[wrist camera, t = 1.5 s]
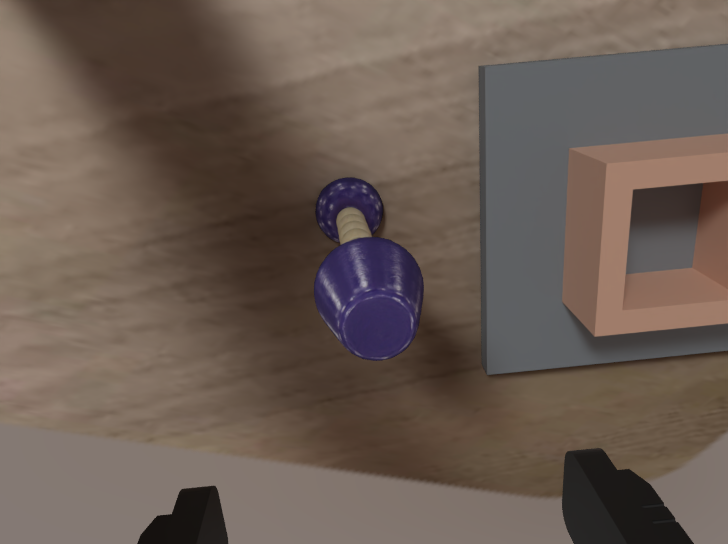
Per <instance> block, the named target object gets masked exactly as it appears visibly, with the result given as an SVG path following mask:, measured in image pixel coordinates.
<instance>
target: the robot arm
mask: <svg viewBox="0 0 728 544" xmlns="http://www.w3.org/2000/svg"><path fill="white" fill-rule="evenodd" d="M562 510H563V516H564V521H565V524H566V527H567V530H568V532H569V535H570V537H571V539H572V541H573V543H574V544H694V543H693V542H692V541H691V539H690V538H689V536H688V535H687V534H686V532H685V531H684V530H683V528H682V527H681V526H680V524H679V523H678V522H676V521H675V517H674V516H673V515H672V513H671V512H670V511H669V509H668V508H667V507H665V506H664V503H663V501H662V500H661V498H660V497H659V496H658V494H657V493H656V492H655V490H654V489H653V488H652V486H651V485H650V484H649V483H648V482H646V481H645V480H643V479H642V478H641V477H639V476H638V475H637V474H635V473H634V472H632V471H631V470H630V469H625V470H617V469H616V468H615V466H614V465H613V463H612V462H611V460H610V459H609V457H608V456H607V454H606V453H605V452H604V451H603V450H602V449H601V448H596V449H586V450H576V451H568V452H567V453H566V455H565V464H564V480H563V496H562ZM137 544H228V537H227V532H226V527H225V522H224V518H223V513H222V508H221V503H220V499H219V494H218V490H217V488H216V486H208V487H197V488H187V489H182V490H181V491H180V492H179V495H178V498H177V500H176V504H175V506H174V510H173V512H172V514H170V515H160V516H157V517H156V518H155V519H154V520H153V521H152V523H151V524H150V525H149V526H148V527H147V528H146V530H145V531H144V532H143V533H142V534H141V536H140V538H139V541H138V543H137Z"/></svg>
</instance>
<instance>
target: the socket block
mask: <svg viewBox="0 0 728 544" xmlns="http://www.w3.org/2000/svg"><path fill="white" fill-rule="evenodd" d="M479 143H480V243H481V343H482V366H483V368H484V370H485V372H486V374H487V375H492V374H502V373H512V372H522V371H532V370H541V369H551V368H561V367H571V366H581V365H591V364H600V363H610V362H620V361H630V360H640V359H650V358H660V357H669V356H679V355H689V354H699V353H709V352H719V351H728V44H720V45H709V46H697V47H686V48H675V49H664V50H653V51H642V52H631V53H619V54H608V55H597V56H586V57H575V58H564V59H553V60H541V61H530V62H519V63H508V64H497V65H486V66H479Z"/></svg>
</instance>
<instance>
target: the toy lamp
mask: <svg viewBox="0 0 728 544" xmlns="http://www.w3.org/2000/svg"><path fill="white" fill-rule="evenodd" d="M382 215H383V205H382V201H381V198H380V196H379V194H378V192H377V191H376V189H374V188H373V186H372V185H370V184H369V183H367V182H365V181H363V180H361V179H357V178H342V179H338V180H335V181H333V182H331V183H330V184H328V185H327V186H326V187H325V188H324V189H323V190H322V191H321V193H320V195H319V197H318V200H317V203H316V219H317V222H318V224H319V226H320V228H321V230H322V231H323V232H324V233H325V234H326V235H327V236H328V237H329V238H330V239H332V240H334V241H336V242H339V243H340V244H341V245H340V246H338V247H337V248H335V249H334V250H333V251H332V252H330V254H329V255H328V256H327V257H326V258H325V260H324V261H323V262H322V264H321V266H320V268H319V270H318V272H317V275H316V278H315V282H314V297H315V302H316V306H317V309H318V312H319V313H320V315H321V317H322V319H323V320H324V322H325V323H326V324H327V326H328V327H329V328H330V330H331V331H332V332H333V334H334V335H335V336H336V337H337V339H338V340H339V341H340V342H341V343H342V345H343V346H344V347H345V348H346V349H347V350H348V351H349V352H351V353H352V354H354V355H356V356H358V357H360V358H362V359H367V360H373V361H378V360H386V359H390V358H393V357H395V356H397V355H398V354H400V353H402V352H403V351H404V350H405V349H406V348H407V347H408V346H409V345H410V343H411V342H412V341H413V339H414V337H415V335H416V332H417V329H418V326H419V320H420V315H421V308H422V302H423V292H424V285H423V277H422V274H421V270H420V268H419V266H418V264H417V262H416V261H415V259H414V258H413V257H412V255H411V254H410V253H409V252H408V251H407V250H406V249H405V248H403V247H402V246H400V245H399V244H397V243H395V242H392V241H391V240H388V239H384V238H379V237H372V235H373V234H374V233H375V231H376V230H377V228H378V227H379V225H380V222H381V219H382Z"/></svg>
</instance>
